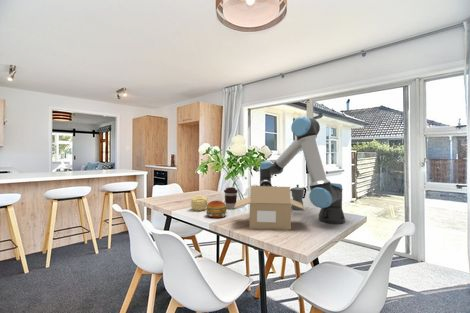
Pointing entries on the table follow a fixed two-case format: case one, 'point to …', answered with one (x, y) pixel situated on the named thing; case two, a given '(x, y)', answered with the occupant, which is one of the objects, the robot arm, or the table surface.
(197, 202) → the sculpture
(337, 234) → the table surface
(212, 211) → the burger
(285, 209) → the carton
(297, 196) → the coffeepot
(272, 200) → the near flap
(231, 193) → the coffee cup
